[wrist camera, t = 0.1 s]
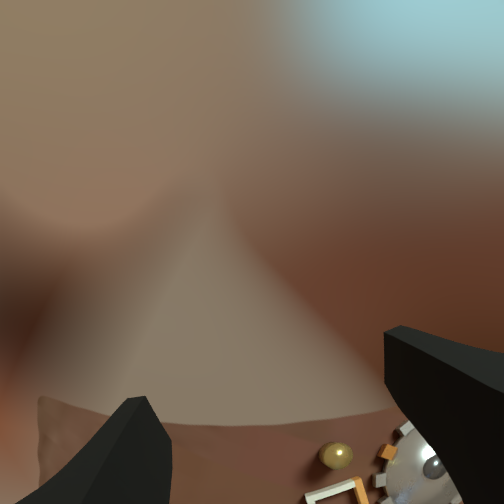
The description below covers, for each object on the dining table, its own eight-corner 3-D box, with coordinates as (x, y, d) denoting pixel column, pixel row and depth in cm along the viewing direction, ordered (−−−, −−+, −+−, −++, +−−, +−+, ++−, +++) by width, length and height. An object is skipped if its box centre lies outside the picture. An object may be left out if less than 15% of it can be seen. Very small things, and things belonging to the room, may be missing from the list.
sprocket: (491, 475, 23) (509, 475, 19) (387, 538, 22) (399, 547, 18) (464, 386, 33) (481, 379, 29) (358, 441, 31) (367, 442, 28)
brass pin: (346, 459, 31) (356, 463, 26) (322, 468, 30) (328, 473, 25) (339, 438, 32) (348, 439, 27) (315, 446, 32) (320, 448, 27)
